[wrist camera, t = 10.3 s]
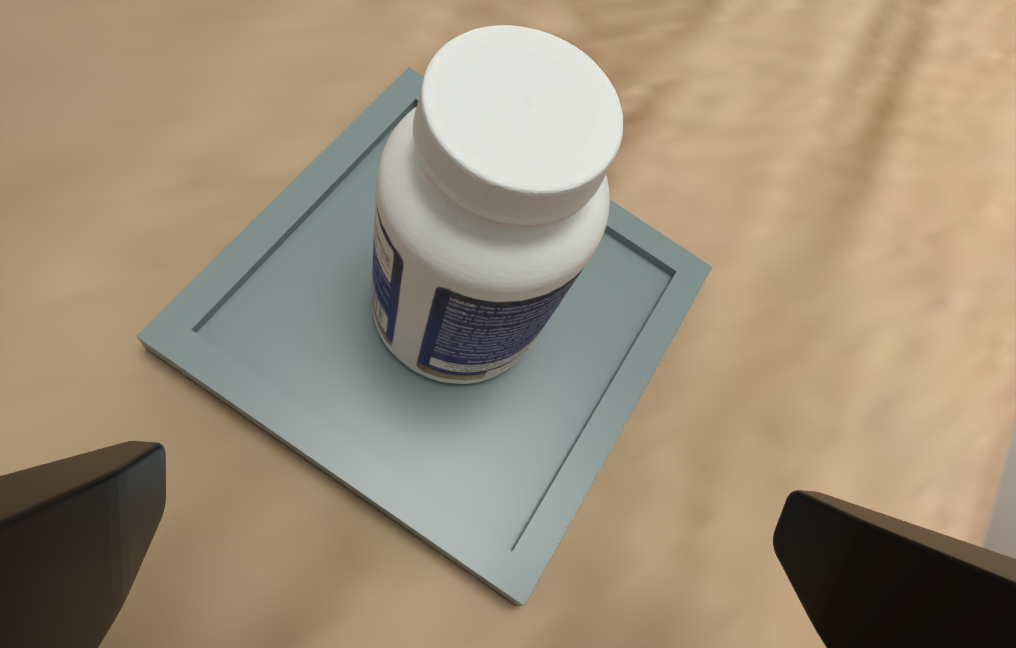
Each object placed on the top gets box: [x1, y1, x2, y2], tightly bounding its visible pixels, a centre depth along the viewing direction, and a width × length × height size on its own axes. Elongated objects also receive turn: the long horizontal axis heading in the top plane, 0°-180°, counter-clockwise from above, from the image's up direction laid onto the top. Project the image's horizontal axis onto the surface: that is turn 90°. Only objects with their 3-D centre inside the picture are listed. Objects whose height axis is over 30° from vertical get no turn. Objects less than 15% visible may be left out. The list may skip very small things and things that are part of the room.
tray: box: [136, 67, 712, 606], centre depth 22 cm, size 13×13×1 cm
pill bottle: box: [371, 25, 623, 384], centre depth 17 cm, size 5×5×10 cm
